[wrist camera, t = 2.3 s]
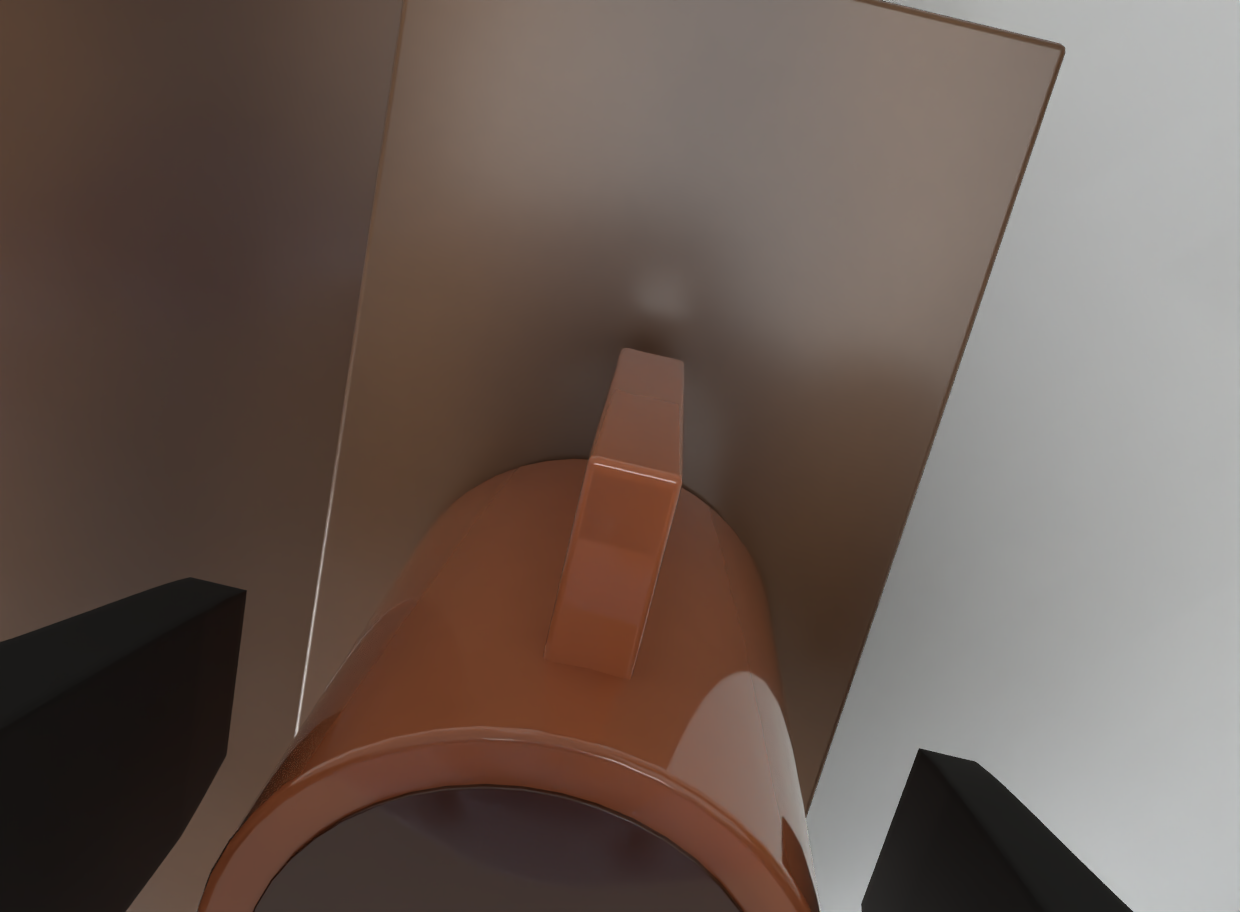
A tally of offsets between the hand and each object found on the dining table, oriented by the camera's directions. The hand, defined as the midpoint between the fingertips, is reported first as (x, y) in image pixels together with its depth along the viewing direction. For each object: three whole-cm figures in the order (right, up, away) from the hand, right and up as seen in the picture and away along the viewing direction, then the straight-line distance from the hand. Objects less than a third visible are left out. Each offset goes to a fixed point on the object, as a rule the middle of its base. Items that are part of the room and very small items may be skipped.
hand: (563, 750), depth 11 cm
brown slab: (-3, +3, +6) cm, 7 cm away
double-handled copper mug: (0, +1, +2) cm, 3 cm away
